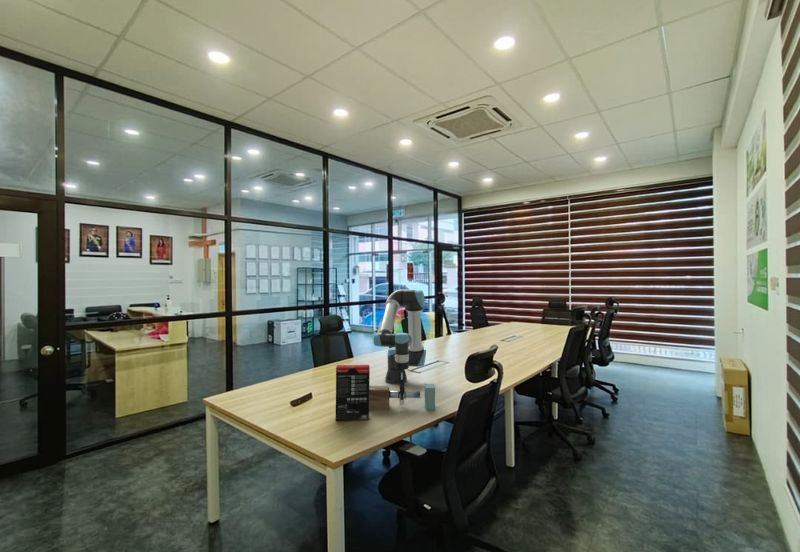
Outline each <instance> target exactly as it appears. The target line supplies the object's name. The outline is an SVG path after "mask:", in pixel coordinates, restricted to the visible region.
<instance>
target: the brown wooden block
mask: <svg viewBox="0 0 800 552" xmlns="http://www.w3.org/2000/svg"><path fill="white" fill-rule="evenodd" d="M389 391H390V385H369V411H373V410H374V411H375V410H376V411H380V410H381V411H382V410H383V411H389V410H390V398H389Z"/></svg>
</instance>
